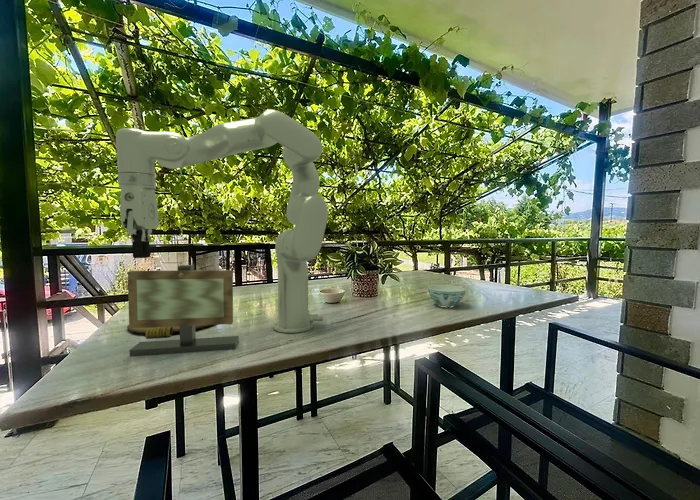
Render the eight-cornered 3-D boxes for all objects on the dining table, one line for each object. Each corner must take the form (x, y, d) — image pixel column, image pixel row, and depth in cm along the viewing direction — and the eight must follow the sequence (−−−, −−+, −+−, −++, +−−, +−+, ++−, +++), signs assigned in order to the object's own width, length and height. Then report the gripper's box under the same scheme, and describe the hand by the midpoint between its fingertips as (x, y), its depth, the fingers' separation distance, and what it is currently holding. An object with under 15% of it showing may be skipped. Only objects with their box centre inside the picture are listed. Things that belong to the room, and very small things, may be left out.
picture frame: (233, 321, 84) (232, 269, 84) (231, 324, 82) (231, 270, 81) (132, 325, 80) (131, 270, 79) (128, 328, 77) (127, 271, 77)
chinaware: (471, 311, 124) (471, 291, 123) (432, 310, 124) (433, 291, 123) (458, 302, 139) (458, 284, 138) (424, 302, 139) (424, 284, 138)
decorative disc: (227, 305, 125) (217, 323, 96) (228, 314, 125) (217, 334, 96) (145, 310, 117) (107, 331, 88) (145, 319, 117) (107, 343, 88)
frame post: (238, 341, 89) (237, 263, 88) (235, 348, 83) (233, 266, 82) (140, 347, 84) (137, 265, 83) (129, 356, 78) (126, 268, 77)
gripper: (140, 178, 70) (145, 260, 72) (165, 186, 85) (169, 254, 86) (102, 177, 69) (108, 261, 70) (134, 186, 83) (138, 255, 85)
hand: (141, 257), depth 78 cm, fingers closed
